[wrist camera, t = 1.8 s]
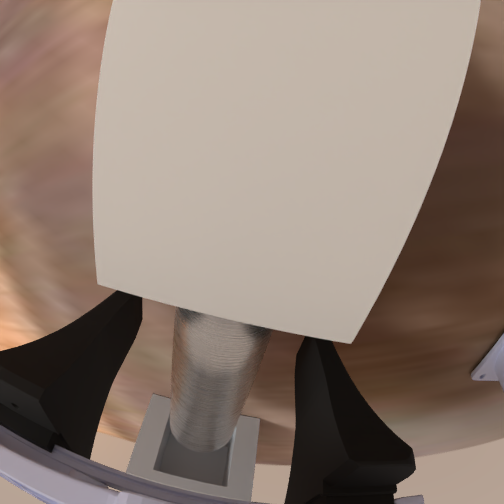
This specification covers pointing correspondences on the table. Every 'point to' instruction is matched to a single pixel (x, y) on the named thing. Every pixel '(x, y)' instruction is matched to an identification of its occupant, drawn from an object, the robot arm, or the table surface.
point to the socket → (195, 457)
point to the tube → (211, 376)
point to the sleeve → (270, 151)
